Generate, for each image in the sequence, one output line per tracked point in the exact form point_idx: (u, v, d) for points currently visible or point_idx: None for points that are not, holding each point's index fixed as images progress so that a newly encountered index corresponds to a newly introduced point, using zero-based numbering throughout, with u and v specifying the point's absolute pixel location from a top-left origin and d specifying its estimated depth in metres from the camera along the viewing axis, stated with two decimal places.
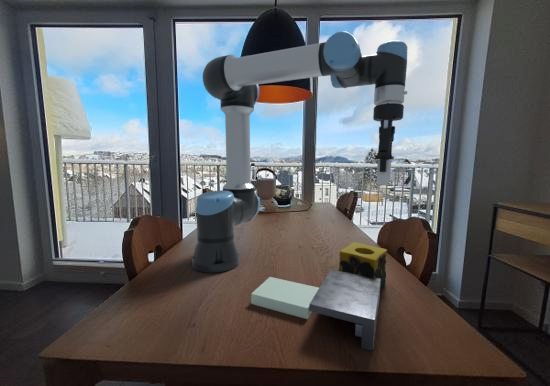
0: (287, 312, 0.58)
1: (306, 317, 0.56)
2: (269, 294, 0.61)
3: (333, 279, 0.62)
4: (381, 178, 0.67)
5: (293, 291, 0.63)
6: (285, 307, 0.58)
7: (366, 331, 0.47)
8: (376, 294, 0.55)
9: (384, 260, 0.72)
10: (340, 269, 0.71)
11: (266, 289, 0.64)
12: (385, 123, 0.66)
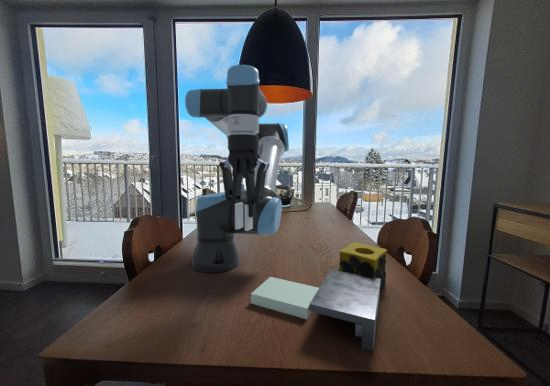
0: (287, 312, 0.58)
1: (305, 317, 0.56)
2: (268, 294, 0.61)
3: (333, 279, 0.62)
4: None
5: (293, 291, 0.63)
6: (285, 307, 0.58)
7: (366, 331, 0.47)
8: (376, 294, 0.55)
9: (384, 260, 0.72)
10: (340, 269, 0.71)
11: (266, 289, 0.64)
12: None
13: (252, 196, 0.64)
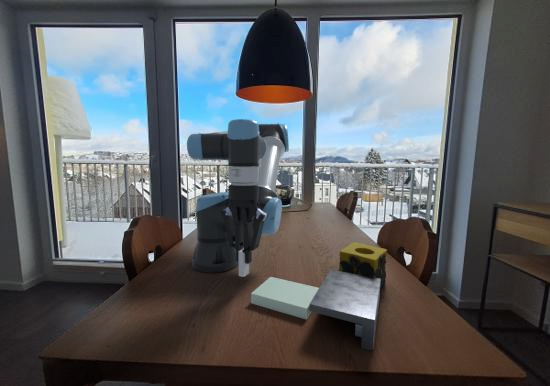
0: (286, 312, 0.58)
1: (305, 317, 0.56)
2: (268, 294, 0.61)
3: (333, 279, 0.62)
4: None
5: (293, 291, 0.63)
6: (284, 307, 0.58)
7: (366, 331, 0.47)
8: (376, 294, 0.55)
9: (384, 260, 0.72)
10: (340, 269, 0.71)
11: (266, 289, 0.64)
12: None
13: (249, 244, 0.65)
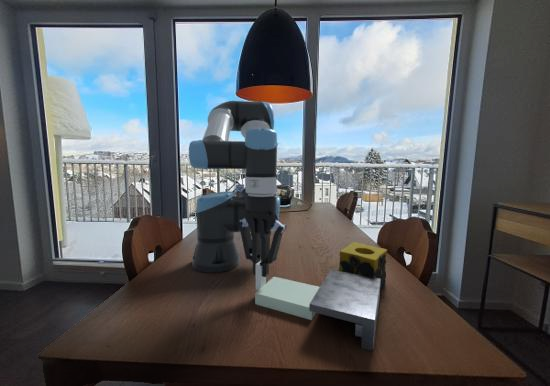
0: (291, 312, 0.58)
1: (310, 317, 0.56)
2: (273, 294, 0.61)
3: (333, 279, 0.62)
4: None
5: (297, 291, 0.62)
6: (289, 306, 0.58)
7: (366, 331, 0.47)
8: (376, 294, 0.55)
9: (384, 260, 0.72)
10: (340, 269, 0.71)
11: (270, 289, 0.64)
12: None
13: (266, 256, 0.63)
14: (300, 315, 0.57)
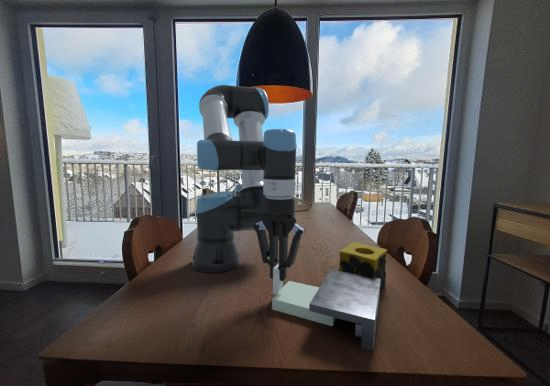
0: (311, 318, 0.56)
1: (331, 324, 0.54)
2: (290, 299, 0.59)
3: (333, 279, 0.62)
4: None
5: None
6: (308, 313, 0.56)
7: (366, 331, 0.47)
8: (376, 294, 0.55)
9: (384, 260, 0.72)
10: (340, 269, 0.71)
11: (287, 294, 0.62)
12: None
13: (284, 260, 0.62)
14: (320, 322, 0.55)
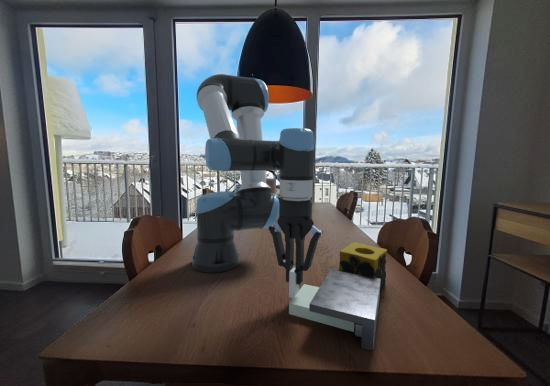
0: (330, 323, 0.54)
1: (352, 329, 0.52)
2: (308, 304, 0.57)
3: (333, 279, 0.62)
4: None
5: None
6: (328, 318, 0.54)
7: (366, 331, 0.47)
8: (376, 294, 0.55)
9: (384, 260, 0.72)
10: (340, 269, 0.71)
11: (304, 298, 0.60)
12: None
13: (301, 263, 0.60)
14: (340, 327, 0.53)
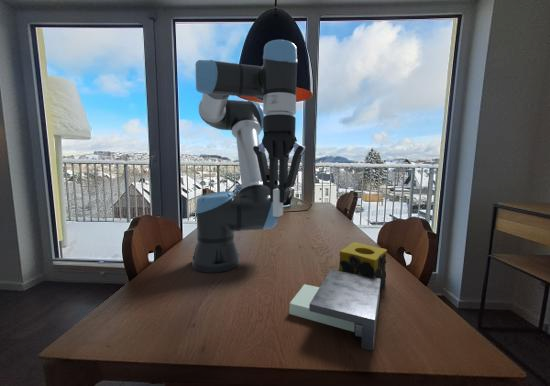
0: (331, 324, 0.54)
1: (353, 329, 0.52)
2: (308, 304, 0.57)
3: (333, 279, 0.62)
4: None
5: None
6: (328, 318, 0.54)
7: (366, 331, 0.47)
8: (376, 294, 0.55)
9: (384, 260, 0.72)
10: (340, 269, 0.71)
11: (304, 298, 0.60)
12: None
13: (284, 181, 0.61)
14: (341, 327, 0.53)
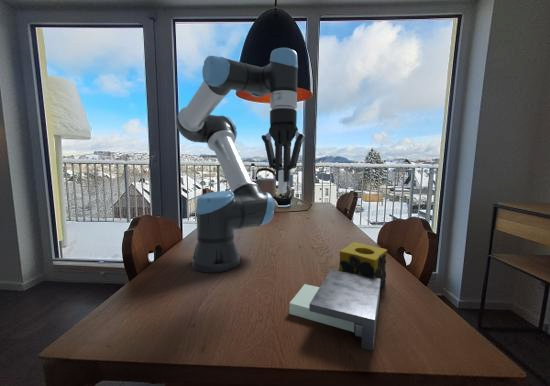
0: (330, 324, 0.54)
1: (352, 330, 0.52)
2: (308, 304, 0.57)
3: (333, 279, 0.62)
4: None
5: None
6: (328, 318, 0.54)
7: (366, 331, 0.47)
8: (376, 294, 0.55)
9: (384, 260, 0.72)
10: (340, 269, 0.71)
11: (304, 298, 0.60)
12: None
13: (288, 163, 0.74)
14: (341, 327, 0.53)
